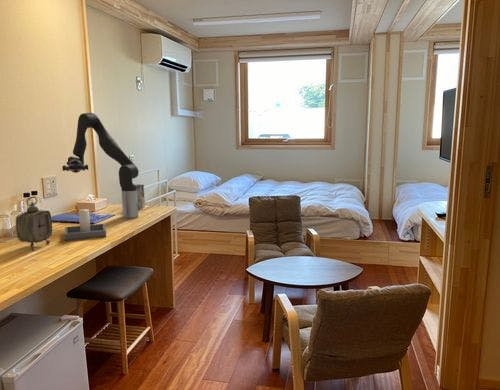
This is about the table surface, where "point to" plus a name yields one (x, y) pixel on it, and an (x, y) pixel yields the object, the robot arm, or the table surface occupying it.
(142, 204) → the coffee box
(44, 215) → the tabletop clock
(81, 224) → the canister
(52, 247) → the table surface
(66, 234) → the tray
